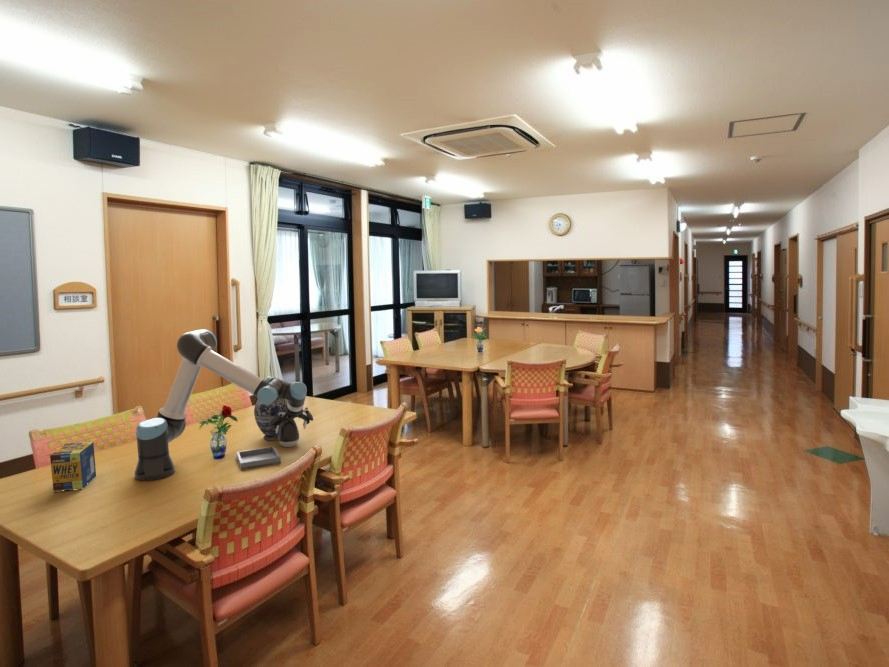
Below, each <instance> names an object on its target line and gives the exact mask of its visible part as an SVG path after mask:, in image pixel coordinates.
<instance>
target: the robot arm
mask: <svg viewBox="0 0 889 667" xmlns="http://www.w3.org/2000/svg"><path fill="white" fill-rule="evenodd" d="M217 346H218V340H217V337H216V335H215V334H214V333H213V332H212V331H210V330H209V329H206V328H205V329H204V328H201V329H200V328H199V329H198V328H197V329H195V330H193V331H188V332H185V333H183V334H182V335H181V336H180V337H178V339H177V341H176V349H177V352H178V353H179V355H180V357H181V358H182V359H181V361H180V365H179V367H178V370H177V373H176V375H175V378H174V381H173V383H172V385H171V389H170V391H169V394H168V397H167V399H166V402H165V404H164V406H163V407H160V408H159V410H158V413H157V415H156V417H153V418H147V420H146V419H145V420H143V421H140V422H139V423H138V424H137V426H136V431H135V436H136V444H137V455H138V461H137V464H136V467H135V471H134V478H135V480H137V479H138V480H137V481H141V480H143V481H144V482H145V481H146V482H148V481H156V480H161V479H164V478H168V477H170V476H172V475H173V474H174V473H175V471H176V470H175V469H176V467H175V464H174V462H173V460H172V458H171V456H170V448H169V443H170V442H172V441H174V440H175V439H177V438H179V437H180V436H182V434H183V433H184V431H185V430H186V424H187V421H186V418H187V414H186V409H187V407H188V405H189V404H188V403H189V401H190V398H191V395H192V394H193V391H194V387H195V385H196V382H197V380H198V377H199V375H200V372H201V370H202V367H204V368H205V369H207V370H209V371H211V372H212V373H215V374H216V375H218V376H220V377H222V378H223V379H225V380H227V381H228V382H230V383H233V385H236V386H237V387H239V388H241V389H243V390H245V392H248V393H250V394H252V395H253V396H255V397H256V398H257V400H259V401H260V402H261V403H263V404H270V403H272V402H273V401H275V400H276V399H277V397H281V398H284V399H287V400H288V402H287V408H286V411H285V412H282V411H279V413H278V414H277V415H276V416H275V417H274V418H273V419H272V420H271V421H270V423H271V426H274V429H275V430H276V433H278V428H279V424H281V423H282V422H284V421H285V420H288V419H290V418H294V419H296V418H298V419H302V420H303V423H302V427H303V430H306V428H307V425H309V424H310V423H311V422H313V421H314V417H313V414H312V413H311V412H310V411H309V408H308V407H304V405H305V401H306V397H307V392H308V389H307V385H306V384H305V383H304V382H302V381H294V382H293V383H291V382H287V381H285V380H283V379H279V378H278V377H274V376H271V375H267V377H266V378H265V379H263V378H261V377H260V376H257V375H255V374H254V373H252V372H251V371H249V370H247V369H245V368H243V367H242V366H240V365H238V364H237V363H235V362H234V361H231V360H230V359H228V358H226V357H224V356H223V355H221V354H219V353H217V352H216V351H215V349H216V348H217Z"/></svg>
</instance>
